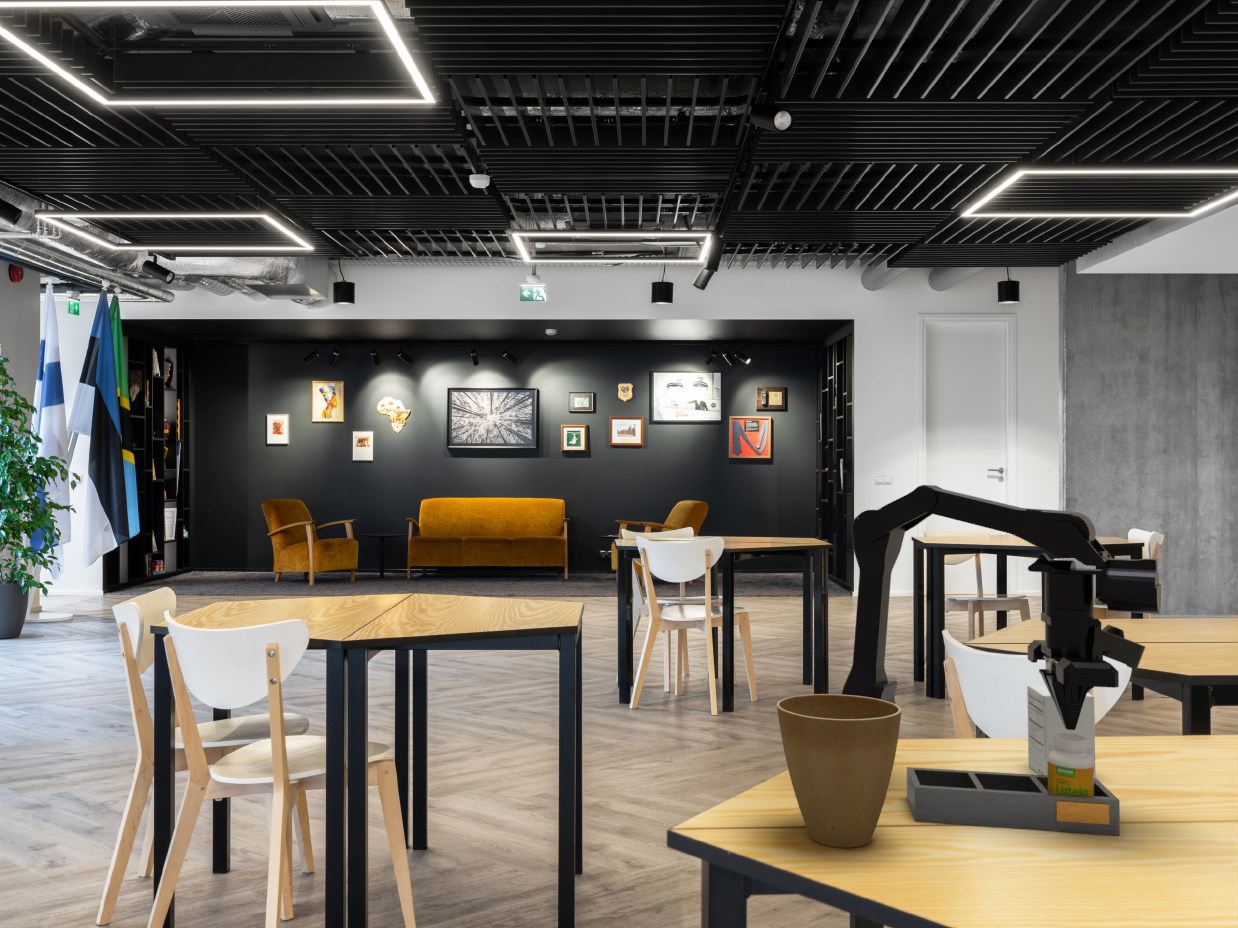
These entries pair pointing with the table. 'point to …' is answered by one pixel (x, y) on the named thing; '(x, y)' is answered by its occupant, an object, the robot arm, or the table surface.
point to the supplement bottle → (1070, 766)
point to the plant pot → (839, 762)
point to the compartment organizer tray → (1008, 802)
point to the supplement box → (1053, 727)
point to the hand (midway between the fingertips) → (1070, 728)
